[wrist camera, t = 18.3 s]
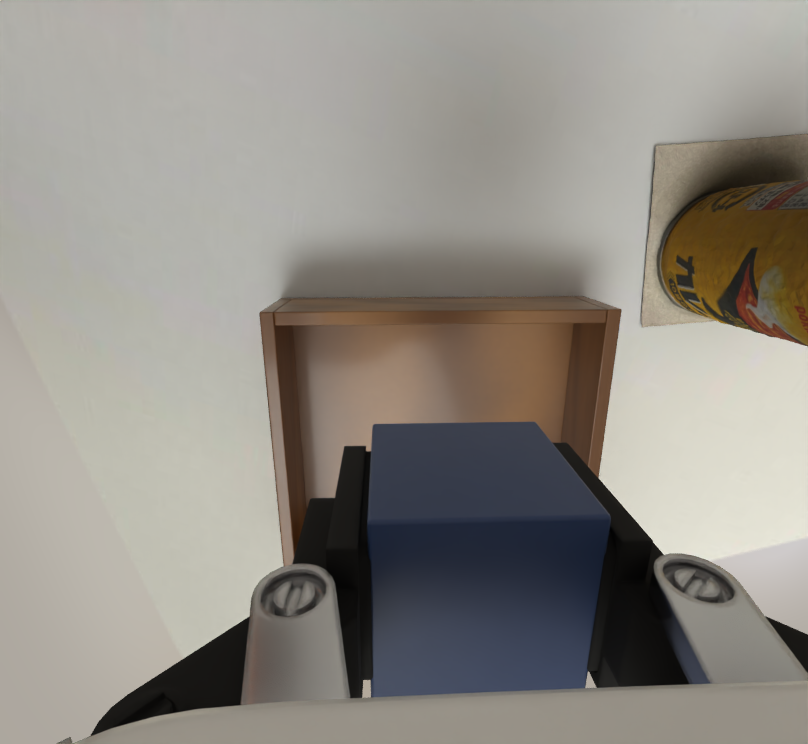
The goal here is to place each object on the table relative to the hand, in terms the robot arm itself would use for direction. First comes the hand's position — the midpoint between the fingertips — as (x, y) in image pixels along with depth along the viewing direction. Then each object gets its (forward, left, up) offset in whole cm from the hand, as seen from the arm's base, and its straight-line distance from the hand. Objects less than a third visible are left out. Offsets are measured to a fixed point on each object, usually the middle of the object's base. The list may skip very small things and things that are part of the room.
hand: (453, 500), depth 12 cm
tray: (+1, -4, -13) cm, 14 cm away
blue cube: (0, 0, 0) cm, 0 cm away
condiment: (+15, +6, -13) cm, 21 cm away
